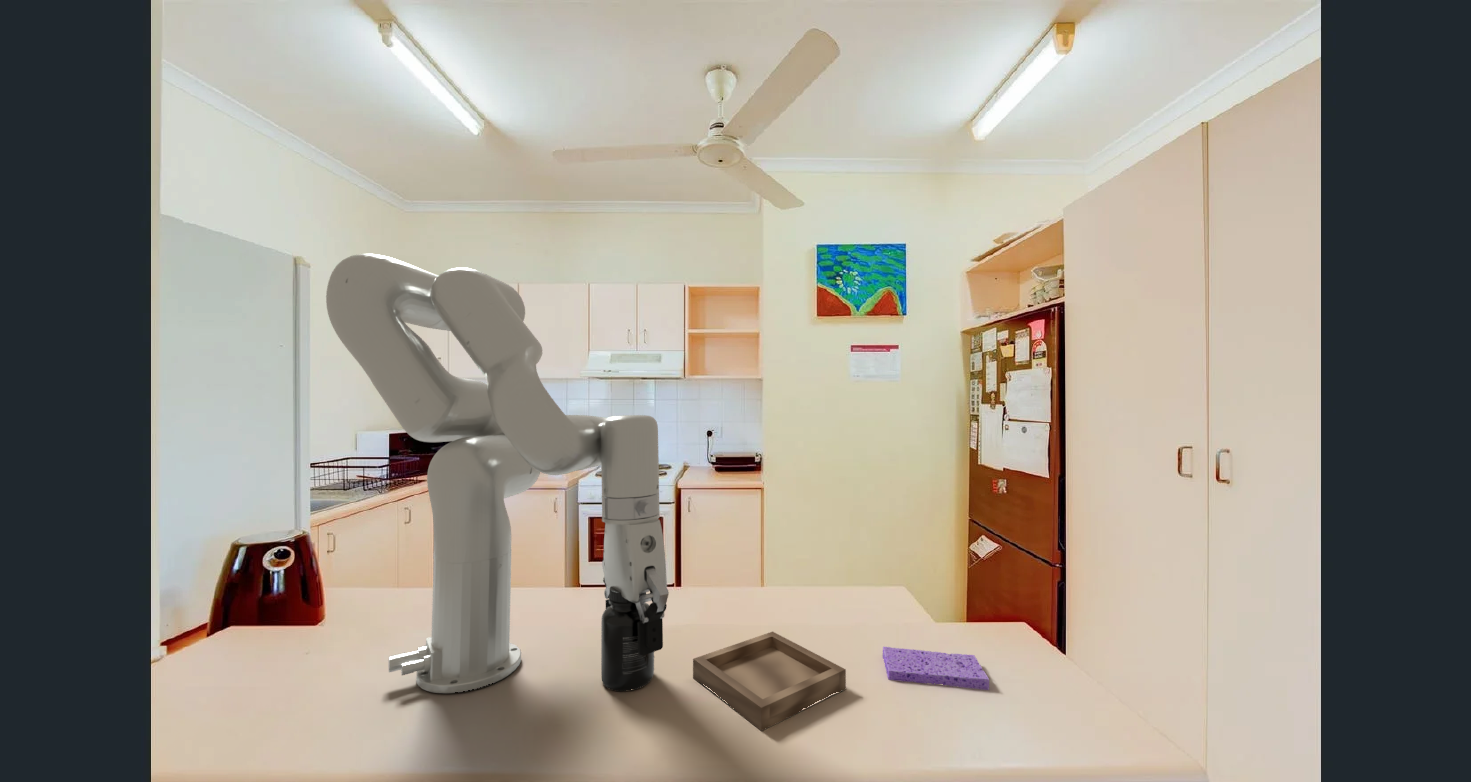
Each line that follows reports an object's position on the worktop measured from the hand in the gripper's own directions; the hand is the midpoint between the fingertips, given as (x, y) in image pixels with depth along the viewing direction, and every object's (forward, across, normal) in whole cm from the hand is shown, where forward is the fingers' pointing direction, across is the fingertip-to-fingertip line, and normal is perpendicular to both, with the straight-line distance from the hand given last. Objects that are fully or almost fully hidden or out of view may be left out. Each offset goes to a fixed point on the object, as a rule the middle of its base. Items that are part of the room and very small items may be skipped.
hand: (633, 638), depth 67 cm
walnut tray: (+6, -11, -13) cm, 18 cm away
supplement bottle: (+6, +1, +1) cm, 6 cm away
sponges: (+7, -22, -33) cm, 41 cm away
